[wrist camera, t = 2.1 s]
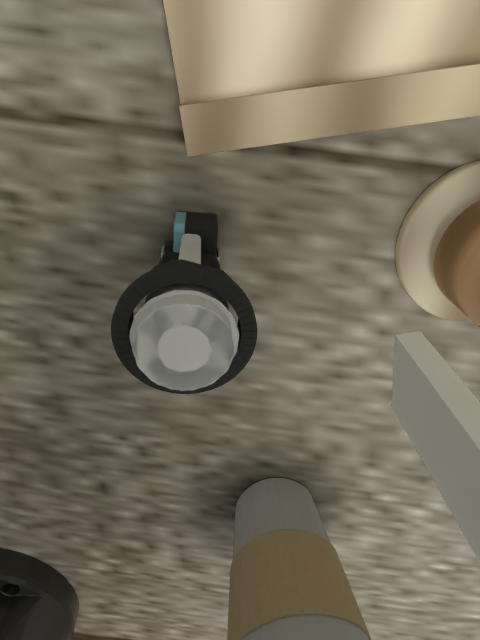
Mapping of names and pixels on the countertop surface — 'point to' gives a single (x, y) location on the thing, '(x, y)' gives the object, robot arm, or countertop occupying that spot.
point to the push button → (185, 316)
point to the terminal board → (319, 67)
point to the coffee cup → (287, 570)
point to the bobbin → (444, 246)
